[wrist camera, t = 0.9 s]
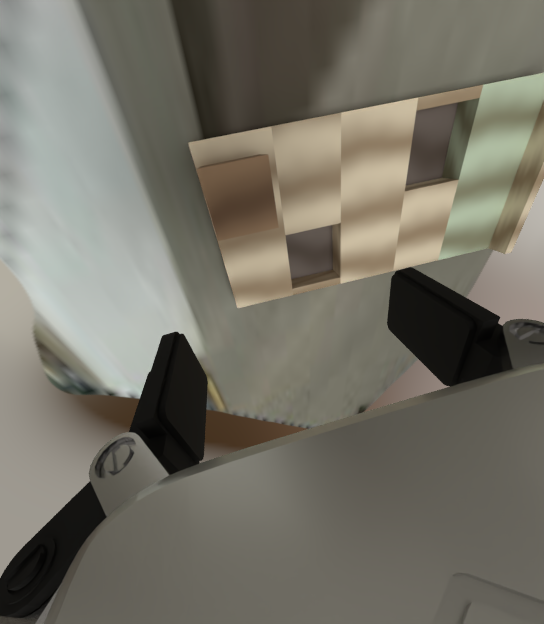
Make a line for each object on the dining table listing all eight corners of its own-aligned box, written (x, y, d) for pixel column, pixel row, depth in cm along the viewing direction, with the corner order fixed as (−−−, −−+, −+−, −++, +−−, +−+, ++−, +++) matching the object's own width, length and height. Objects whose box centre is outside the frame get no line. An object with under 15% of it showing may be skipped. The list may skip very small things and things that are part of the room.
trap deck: (191, 143, 25) (184, 141, 20) (532, 76, 27) (595, 61, 22) (236, 297, 35) (238, 318, 31) (476, 240, 38) (511, 252, 33)
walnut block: (200, 166, 23) (196, 169, 19) (259, 154, 24) (268, 154, 20) (218, 227, 27) (218, 241, 23) (269, 216, 27) (278, 227, 23)
